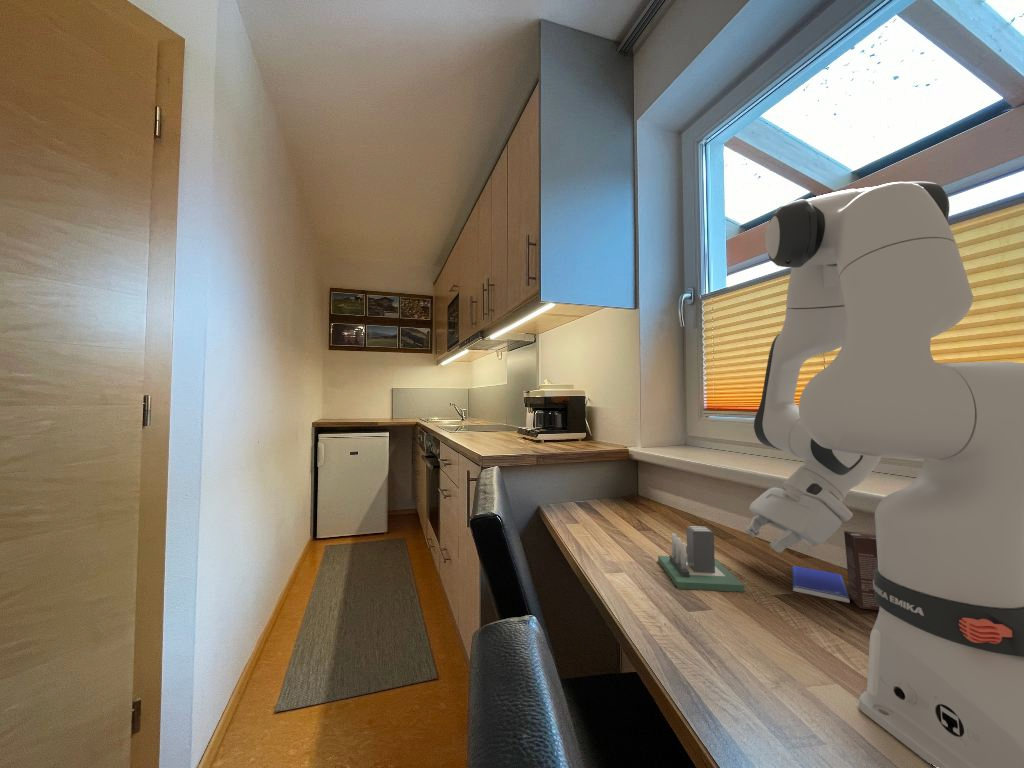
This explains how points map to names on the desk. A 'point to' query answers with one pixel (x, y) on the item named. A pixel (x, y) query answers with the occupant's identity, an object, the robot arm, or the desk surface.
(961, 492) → the robot arm
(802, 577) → the hard drive
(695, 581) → the header board
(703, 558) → the plug
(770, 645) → the desk surface
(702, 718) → the desk surface
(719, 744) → the desk surface
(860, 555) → the box
